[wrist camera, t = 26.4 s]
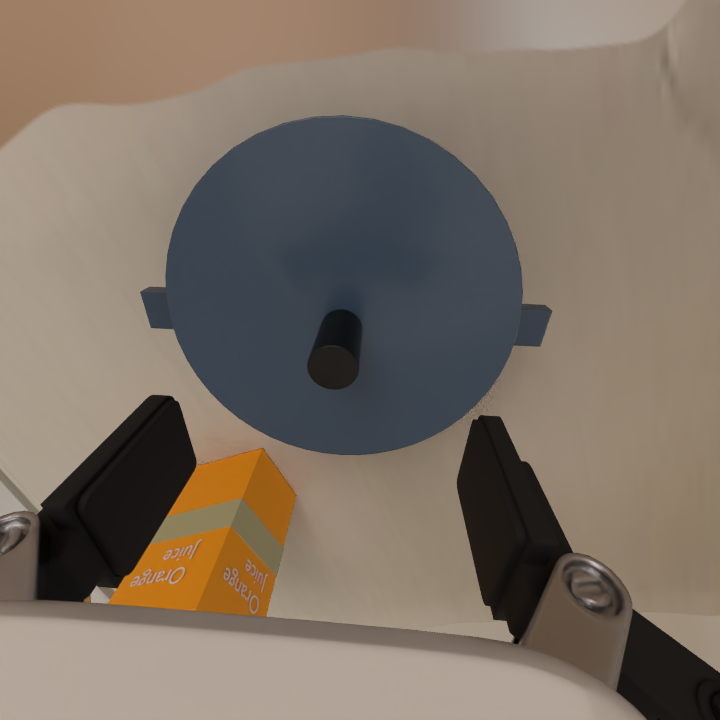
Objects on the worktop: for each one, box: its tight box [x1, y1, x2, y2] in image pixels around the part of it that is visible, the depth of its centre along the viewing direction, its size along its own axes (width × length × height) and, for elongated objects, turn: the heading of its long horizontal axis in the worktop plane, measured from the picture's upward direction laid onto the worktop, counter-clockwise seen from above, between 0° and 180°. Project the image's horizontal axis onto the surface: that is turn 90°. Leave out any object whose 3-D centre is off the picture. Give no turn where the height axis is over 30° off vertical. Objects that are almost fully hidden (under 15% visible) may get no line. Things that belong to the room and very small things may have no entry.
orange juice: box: [108, 448, 296, 617], centre depth 28 cm, size 8×9×20 cm
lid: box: [166, 116, 523, 455], centre depth 18 cm, size 20×20×6 cm
